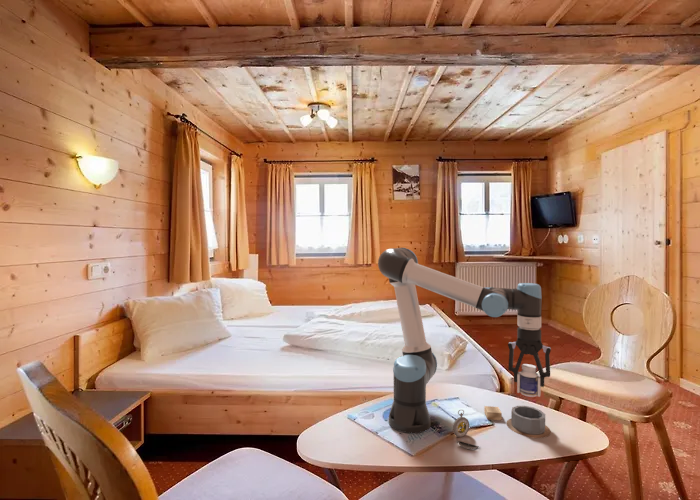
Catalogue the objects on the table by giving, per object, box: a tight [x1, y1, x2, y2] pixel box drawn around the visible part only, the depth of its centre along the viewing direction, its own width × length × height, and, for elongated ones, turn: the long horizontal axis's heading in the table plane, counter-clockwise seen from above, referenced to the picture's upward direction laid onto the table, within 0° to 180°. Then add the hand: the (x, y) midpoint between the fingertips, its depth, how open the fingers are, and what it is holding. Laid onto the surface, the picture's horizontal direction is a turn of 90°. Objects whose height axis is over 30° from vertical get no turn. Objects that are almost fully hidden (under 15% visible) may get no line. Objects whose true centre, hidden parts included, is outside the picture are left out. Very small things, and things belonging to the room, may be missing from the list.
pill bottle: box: [519, 363, 539, 398], centre depth 127 cm, size 6×6×10 cm
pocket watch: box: [452, 409, 479, 450], centre depth 120 cm, size 8×8×10 cm
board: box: [505, 418, 552, 439], centre depth 128 cm, size 14×14×1 cm
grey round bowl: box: [510, 405, 546, 435], centre depth 127 cm, size 10×10×5 cm
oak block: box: [483, 405, 503, 421], centre depth 135 cm, size 5×5×4 cm
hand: (528, 393), depth 127 cm, fingers closed on pill bottle, 6 cm apart
